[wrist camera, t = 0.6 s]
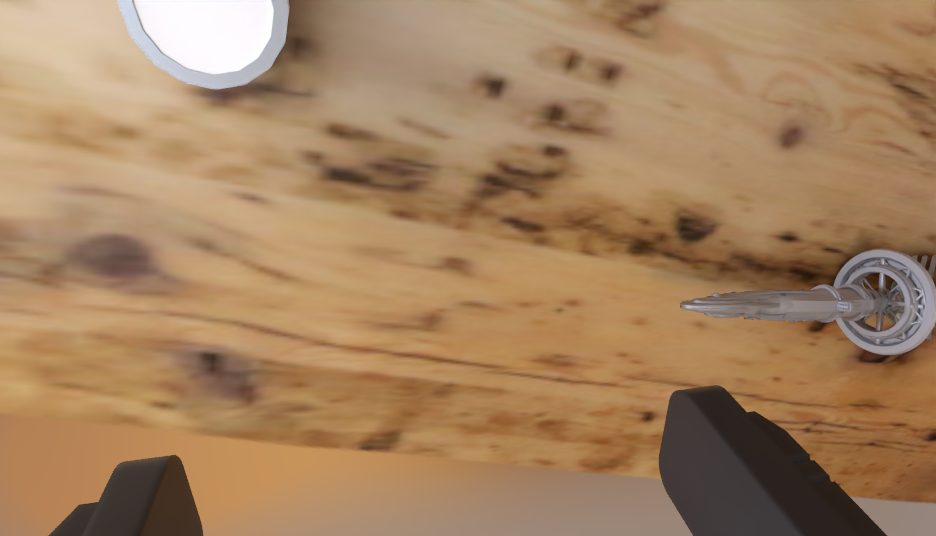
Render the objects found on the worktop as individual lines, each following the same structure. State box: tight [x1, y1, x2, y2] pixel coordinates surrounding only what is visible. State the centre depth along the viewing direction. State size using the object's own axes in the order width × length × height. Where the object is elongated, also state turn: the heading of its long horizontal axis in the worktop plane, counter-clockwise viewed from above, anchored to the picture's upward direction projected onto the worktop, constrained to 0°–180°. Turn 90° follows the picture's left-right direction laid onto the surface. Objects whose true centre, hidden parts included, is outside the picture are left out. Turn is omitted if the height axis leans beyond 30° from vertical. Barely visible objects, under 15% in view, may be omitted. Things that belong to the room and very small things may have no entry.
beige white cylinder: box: [117, 0, 290, 89], centre depth 27 cm, size 7×7×7 cm
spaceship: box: [680, 249, 936, 355], centre depth 43 cm, size 8×35×8 cm
